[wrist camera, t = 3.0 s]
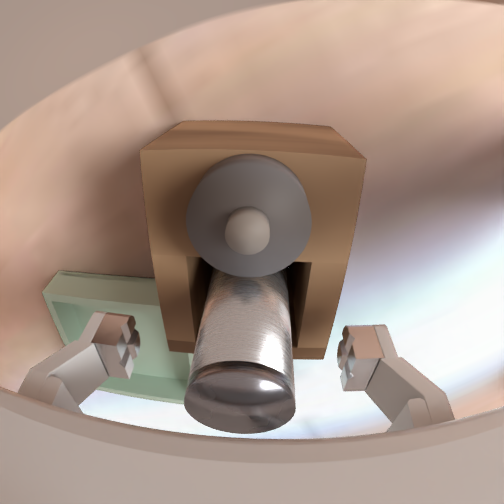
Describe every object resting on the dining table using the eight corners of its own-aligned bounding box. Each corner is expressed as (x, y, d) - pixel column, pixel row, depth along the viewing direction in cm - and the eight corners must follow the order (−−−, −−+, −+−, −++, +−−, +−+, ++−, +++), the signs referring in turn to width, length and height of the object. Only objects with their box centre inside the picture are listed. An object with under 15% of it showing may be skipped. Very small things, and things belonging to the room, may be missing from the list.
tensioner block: (310, 281, 19) (327, 391, 12) (192, 275, 19) (160, 382, 12) (330, 126, 14) (386, 178, 8) (183, 120, 14) (115, 167, 8)
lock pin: (280, 259, 18) (288, 435, 9) (223, 256, 18) (190, 429, 9) (285, 207, 17) (303, 380, 8) (222, 204, 17) (176, 373, 8)
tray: (209, 381, 25) (205, 406, 23) (96, 365, 25) (87, 387, 23) (199, 281, 19) (191, 308, 17) (58, 270, 20) (41, 292, 17)
